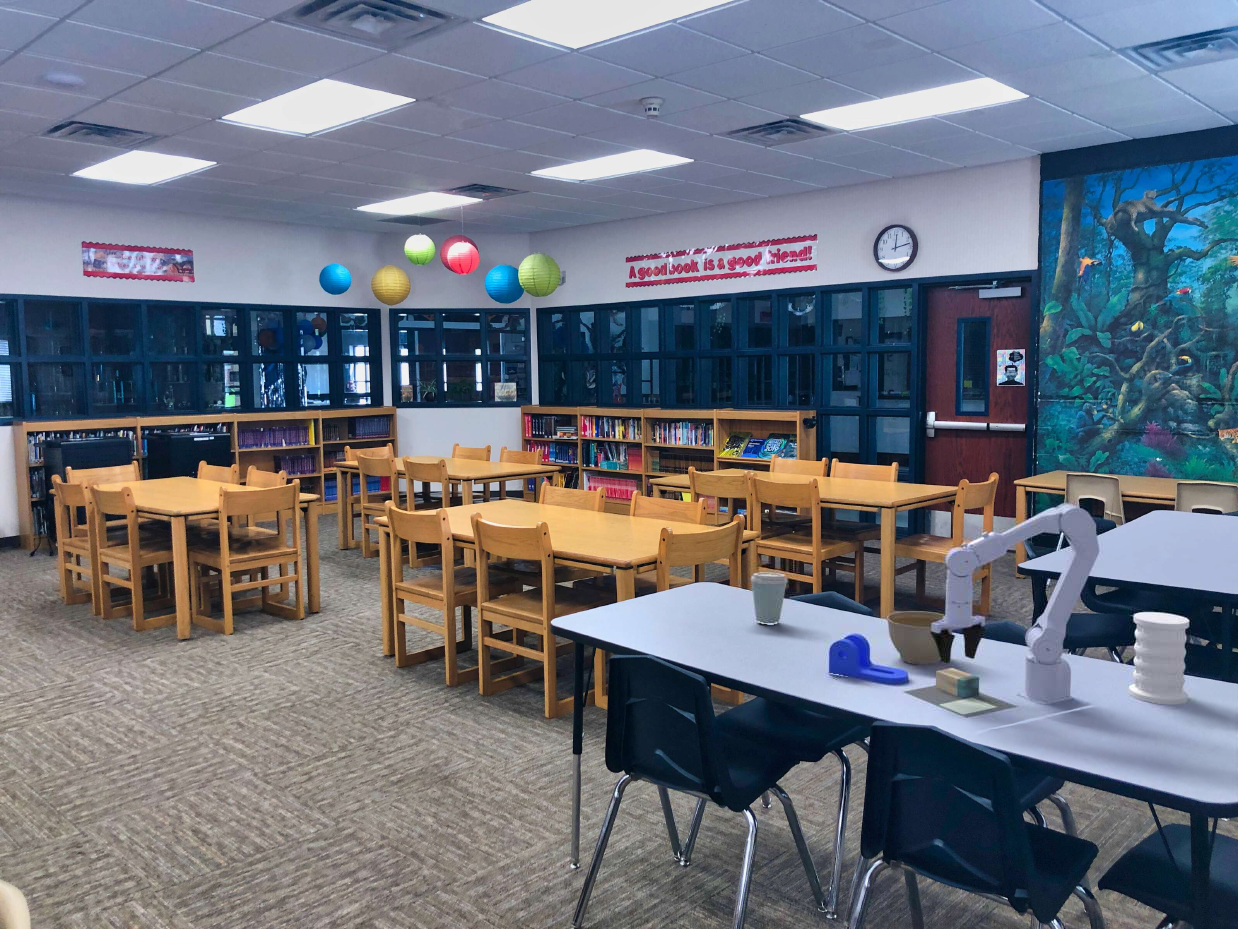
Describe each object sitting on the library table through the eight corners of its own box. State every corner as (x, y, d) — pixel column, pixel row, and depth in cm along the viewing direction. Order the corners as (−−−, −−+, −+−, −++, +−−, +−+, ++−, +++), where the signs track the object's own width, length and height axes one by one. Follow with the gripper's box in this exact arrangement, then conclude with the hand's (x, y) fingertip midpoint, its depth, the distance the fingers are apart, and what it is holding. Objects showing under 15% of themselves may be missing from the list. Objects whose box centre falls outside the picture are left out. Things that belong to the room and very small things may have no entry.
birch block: (952, 685, 225) (952, 668, 224) (978, 694, 217) (979, 677, 217) (935, 688, 222) (936, 671, 222) (962, 698, 215) (962, 680, 215)
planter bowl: (884, 650, 255) (885, 609, 254) (948, 653, 252) (949, 612, 251) (888, 667, 240) (889, 625, 239) (956, 671, 236) (957, 627, 235)
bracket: (828, 674, 235) (829, 638, 234) (843, 666, 241) (844, 631, 241) (900, 689, 224) (900, 651, 223) (913, 680, 230) (914, 643, 230)
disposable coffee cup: (750, 618, 290) (750, 569, 289) (786, 619, 289) (787, 569, 287) (750, 627, 280) (750, 576, 278) (788, 628, 278) (788, 577, 277)
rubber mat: (951, 683, 227) (951, 681, 227) (1017, 708, 210) (1017, 705, 210) (903, 693, 220) (903, 691, 220) (966, 719, 203) (966, 717, 203)
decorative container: (1184, 692, 219) (1187, 614, 218) (1191, 707, 209) (1194, 626, 207) (1127, 685, 224) (1130, 609, 223) (1130, 701, 214) (1133, 621, 212)
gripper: (969, 594, 225) (967, 651, 226) (921, 601, 218) (920, 659, 220) (992, 600, 219) (991, 659, 220) (945, 607, 212) (943, 667, 213)
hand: (957, 659), depth 219 cm, fingers open, 7 cm apart
